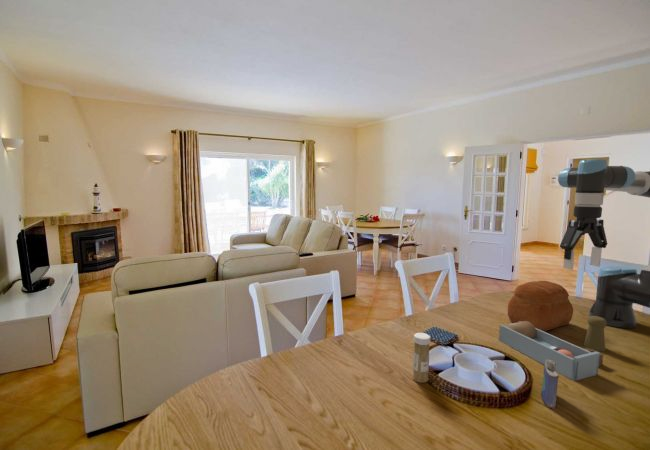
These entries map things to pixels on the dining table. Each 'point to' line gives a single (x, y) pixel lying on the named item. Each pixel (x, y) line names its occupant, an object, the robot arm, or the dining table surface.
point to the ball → (566, 353)
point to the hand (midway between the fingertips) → (581, 267)
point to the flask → (549, 384)
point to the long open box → (550, 350)
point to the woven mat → (441, 335)
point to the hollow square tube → (599, 358)
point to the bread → (541, 305)
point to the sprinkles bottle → (421, 357)
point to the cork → (595, 334)
